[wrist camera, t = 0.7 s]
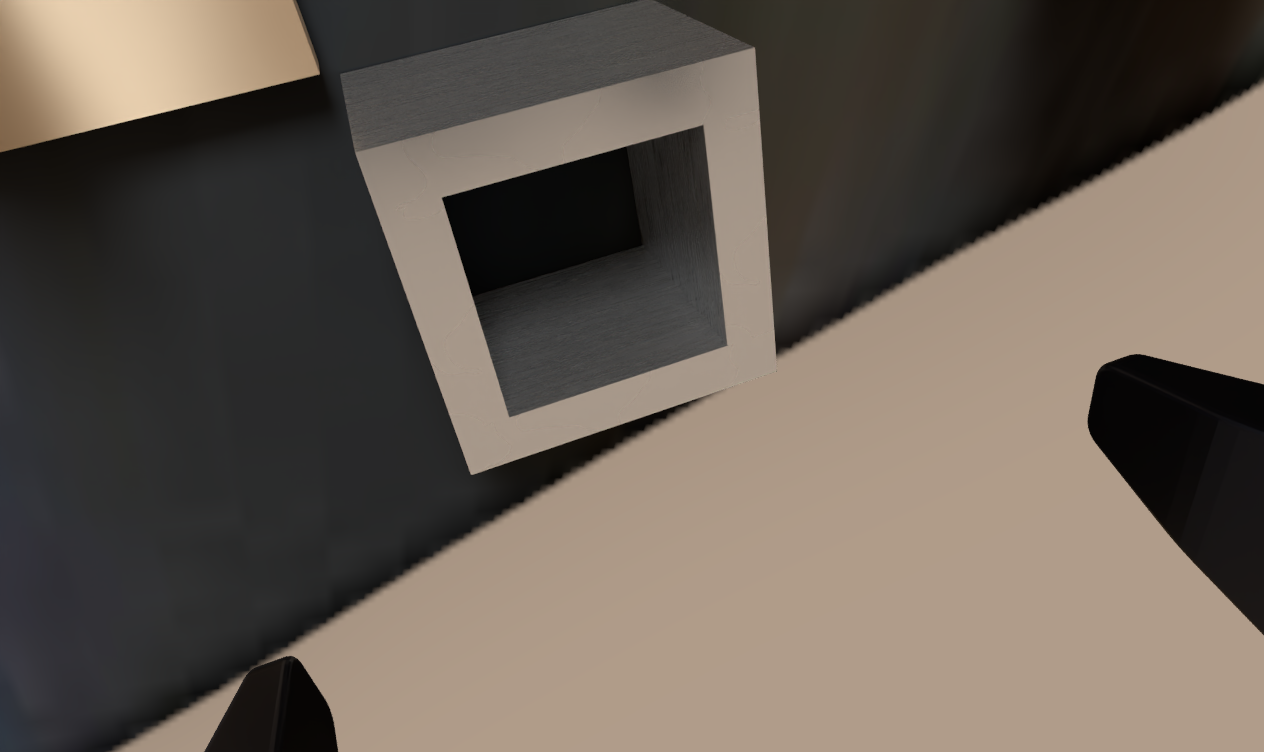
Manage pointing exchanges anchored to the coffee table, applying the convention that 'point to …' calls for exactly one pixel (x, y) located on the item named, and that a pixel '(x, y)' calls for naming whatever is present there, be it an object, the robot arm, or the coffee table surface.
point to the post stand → (137, 59)
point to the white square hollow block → (598, 289)
